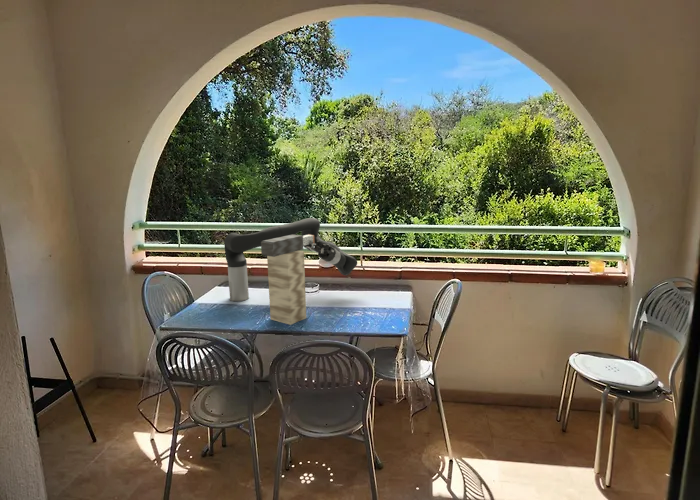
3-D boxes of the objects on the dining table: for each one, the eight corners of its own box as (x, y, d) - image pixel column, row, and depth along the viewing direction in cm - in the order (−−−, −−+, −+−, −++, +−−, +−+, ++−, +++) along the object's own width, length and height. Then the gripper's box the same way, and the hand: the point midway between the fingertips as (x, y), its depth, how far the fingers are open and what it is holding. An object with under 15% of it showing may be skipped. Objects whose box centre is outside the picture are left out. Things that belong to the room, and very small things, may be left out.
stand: (280, 329, 186) (276, 243, 179) (260, 323, 193) (255, 240, 186) (310, 316, 201) (308, 236, 194) (291, 311, 208) (287, 233, 201)
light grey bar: (276, 252, 185) (276, 243, 185) (270, 251, 187) (269, 242, 187) (314, 243, 204) (314, 235, 204) (308, 242, 206) (308, 234, 206)
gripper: (320, 245, 222) (300, 233, 209) (343, 248, 214) (324, 236, 201) (315, 260, 220) (295, 248, 208) (339, 263, 212) (319, 251, 199)
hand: (309, 242), depth 204 cm, fingers open, 8 cm apart
